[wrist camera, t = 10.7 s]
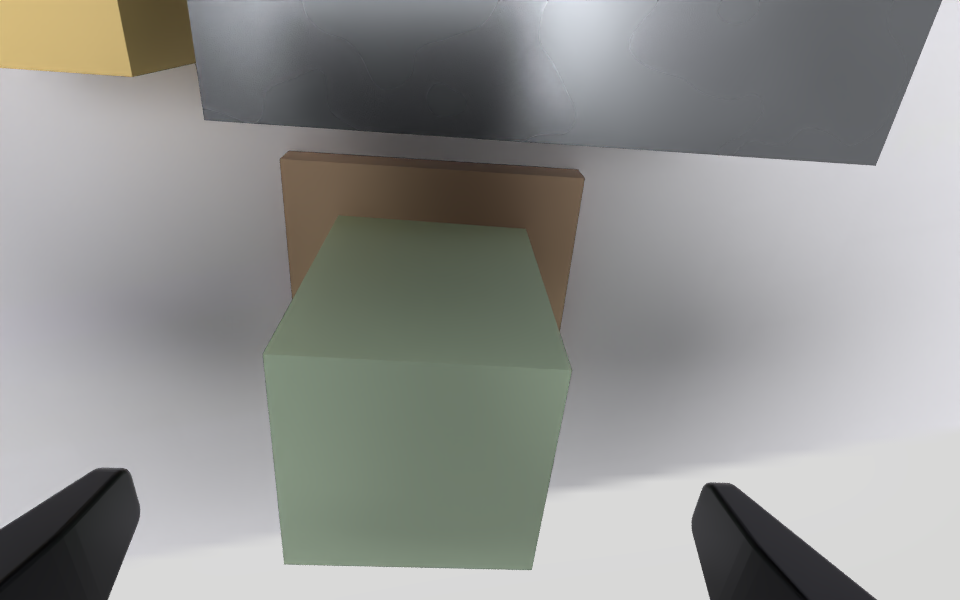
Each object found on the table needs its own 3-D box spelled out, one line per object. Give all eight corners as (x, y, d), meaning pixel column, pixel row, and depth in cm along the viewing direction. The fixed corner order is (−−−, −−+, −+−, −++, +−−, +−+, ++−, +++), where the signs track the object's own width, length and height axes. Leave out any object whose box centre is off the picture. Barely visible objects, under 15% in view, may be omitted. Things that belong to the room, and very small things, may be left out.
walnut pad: (308, 389, 17) (301, 406, 16) (288, 150, 13) (279, 158, 13) (542, 397, 17) (546, 414, 16) (577, 169, 14) (584, 178, 13)
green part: (342, 371, 15) (284, 563, 10) (338, 215, 13) (262, 354, 8) (505, 379, 16) (531, 569, 10) (525, 228, 14) (571, 370, 8)
